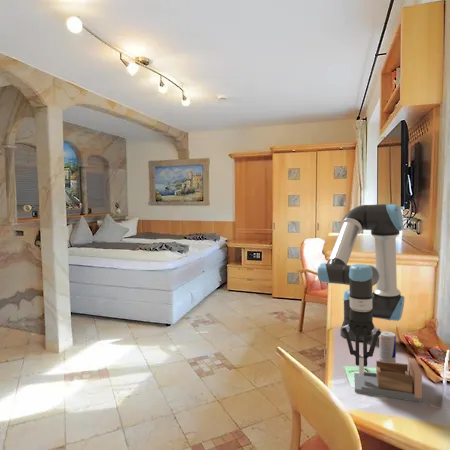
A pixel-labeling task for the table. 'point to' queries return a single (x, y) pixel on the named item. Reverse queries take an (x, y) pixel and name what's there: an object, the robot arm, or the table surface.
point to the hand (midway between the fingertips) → (361, 374)
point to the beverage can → (387, 347)
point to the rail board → (370, 386)
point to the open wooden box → (393, 376)
